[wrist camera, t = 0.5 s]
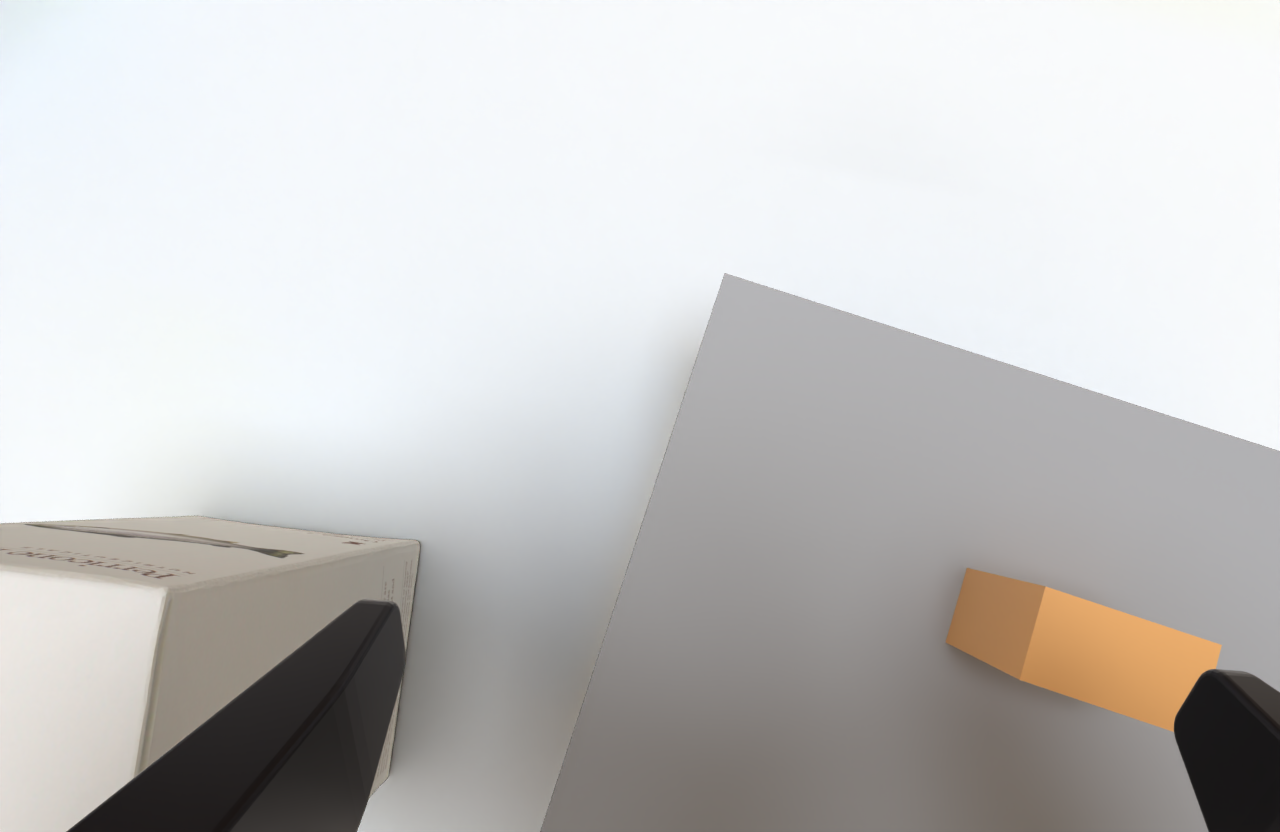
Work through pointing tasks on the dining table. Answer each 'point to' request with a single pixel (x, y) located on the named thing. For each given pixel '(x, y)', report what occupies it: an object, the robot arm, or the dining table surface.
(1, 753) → the supplement box
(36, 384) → the dining table surface
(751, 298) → the lid
